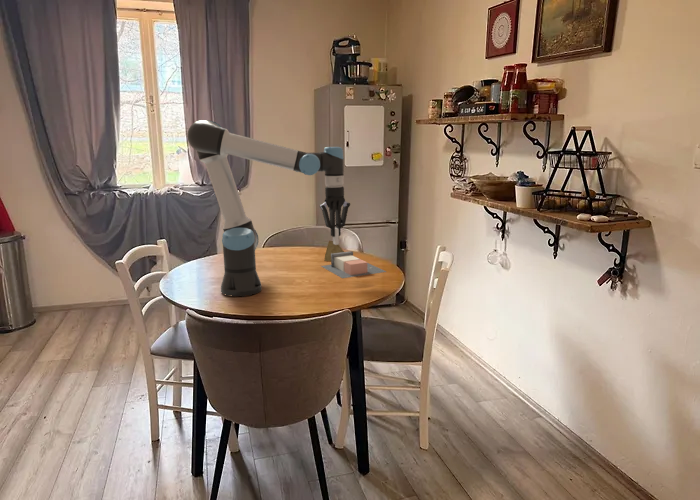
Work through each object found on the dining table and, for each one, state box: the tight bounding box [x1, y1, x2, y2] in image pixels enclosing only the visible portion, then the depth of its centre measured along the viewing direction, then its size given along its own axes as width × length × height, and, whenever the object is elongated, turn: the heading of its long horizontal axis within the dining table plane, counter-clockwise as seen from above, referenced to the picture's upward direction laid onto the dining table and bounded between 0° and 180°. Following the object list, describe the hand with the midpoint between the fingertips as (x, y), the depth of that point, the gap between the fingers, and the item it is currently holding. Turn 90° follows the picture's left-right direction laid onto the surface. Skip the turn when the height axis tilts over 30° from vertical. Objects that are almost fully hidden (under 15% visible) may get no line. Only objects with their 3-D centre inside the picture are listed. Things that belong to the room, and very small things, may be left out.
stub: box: [345, 259, 368, 275], centre depth 211 cm, size 8×6×4 cm
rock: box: [324, 240, 345, 262], centre depth 233 cm, size 11×9×10 cm
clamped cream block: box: [330, 250, 361, 271], centre depth 220 cm, size 11×12×6 cm
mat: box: [320, 262, 387, 279], centre depth 218 cm, size 21×22×1 cm
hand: (335, 244), depth 205 cm, fingers closed
